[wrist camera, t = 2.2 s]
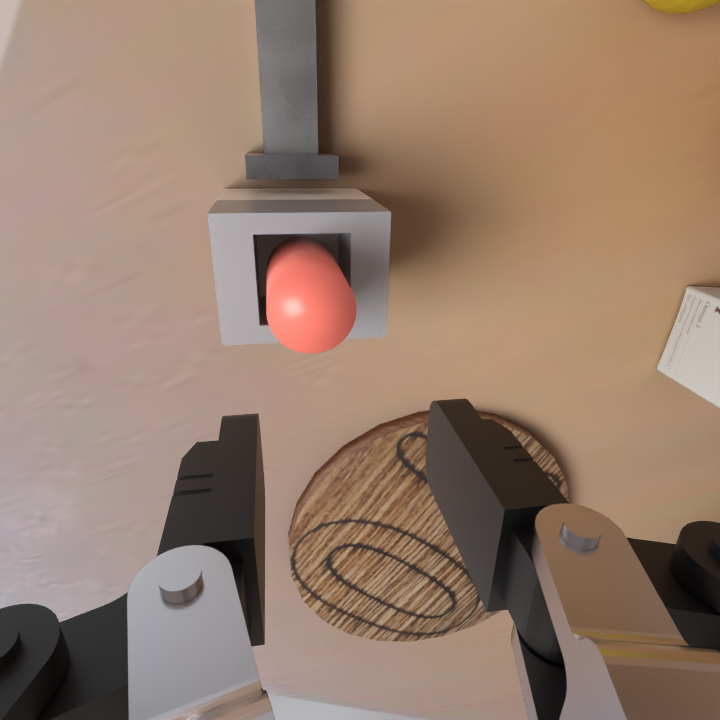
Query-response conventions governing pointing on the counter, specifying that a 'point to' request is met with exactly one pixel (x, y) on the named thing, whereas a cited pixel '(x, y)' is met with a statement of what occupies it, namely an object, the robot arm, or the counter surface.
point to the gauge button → (308, 296)
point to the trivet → (388, 538)
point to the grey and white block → (290, 219)
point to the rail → (289, 94)
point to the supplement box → (696, 344)
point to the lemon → (680, 5)
